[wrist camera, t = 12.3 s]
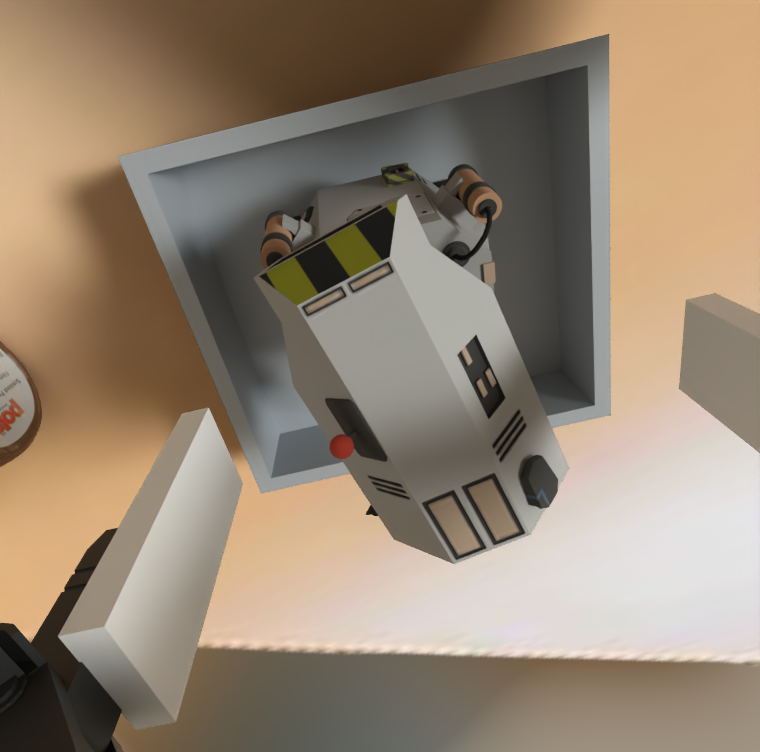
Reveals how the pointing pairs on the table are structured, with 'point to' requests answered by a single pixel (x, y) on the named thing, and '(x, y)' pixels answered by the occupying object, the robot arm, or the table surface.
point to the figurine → (413, 357)
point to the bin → (433, 162)
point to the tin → (16, 407)
